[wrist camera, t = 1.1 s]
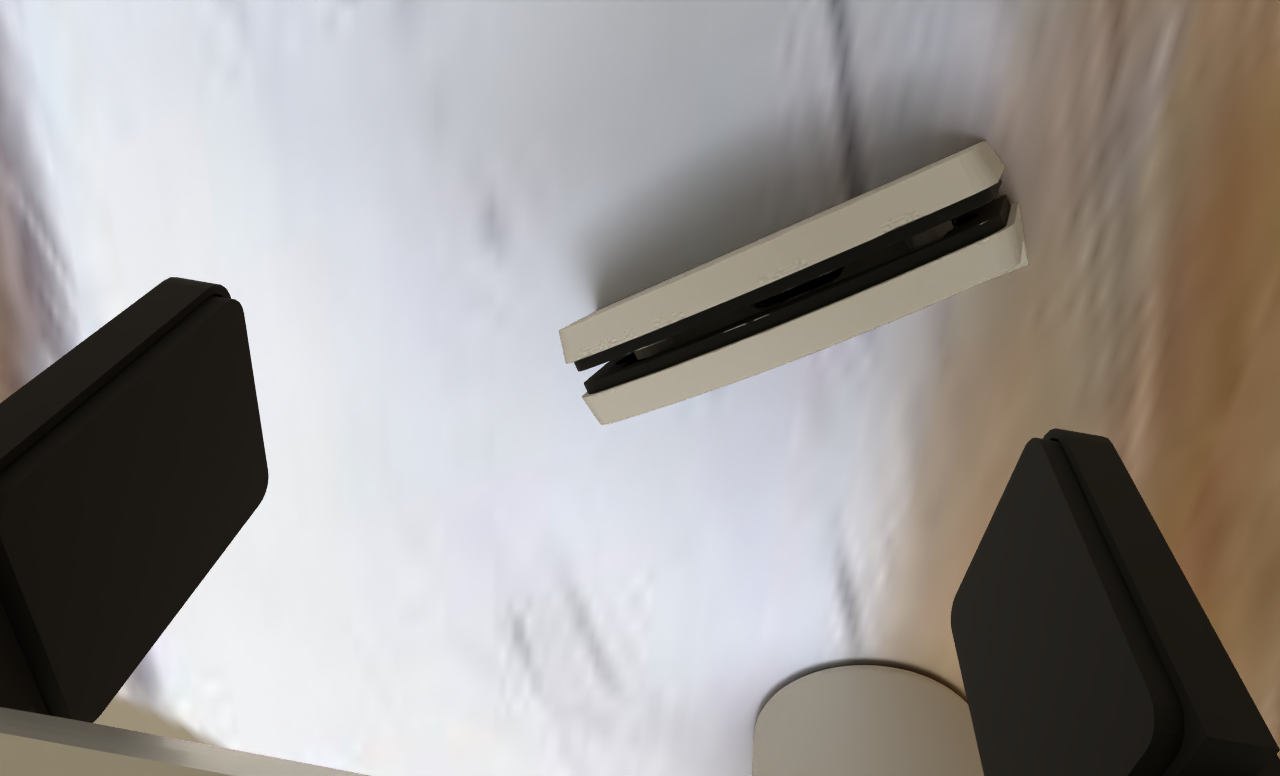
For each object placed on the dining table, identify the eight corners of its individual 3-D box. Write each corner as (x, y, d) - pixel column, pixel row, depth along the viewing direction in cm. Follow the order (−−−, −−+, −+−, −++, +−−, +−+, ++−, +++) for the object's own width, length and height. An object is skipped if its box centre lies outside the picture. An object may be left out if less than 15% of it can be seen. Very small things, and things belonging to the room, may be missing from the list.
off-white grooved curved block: (647, 404, 39) (565, 482, 29) (604, 306, 38) (506, 354, 29) (1034, 255, 33) (1085, 294, 23) (989, 137, 32) (1022, 129, 23)
